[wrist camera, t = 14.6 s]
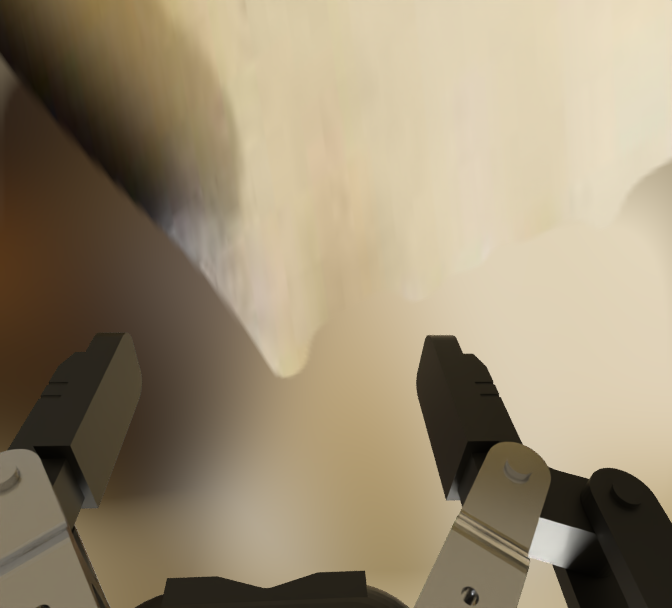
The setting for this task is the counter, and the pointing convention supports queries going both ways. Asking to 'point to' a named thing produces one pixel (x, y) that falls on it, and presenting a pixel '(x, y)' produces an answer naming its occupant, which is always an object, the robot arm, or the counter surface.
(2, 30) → the counter surface
